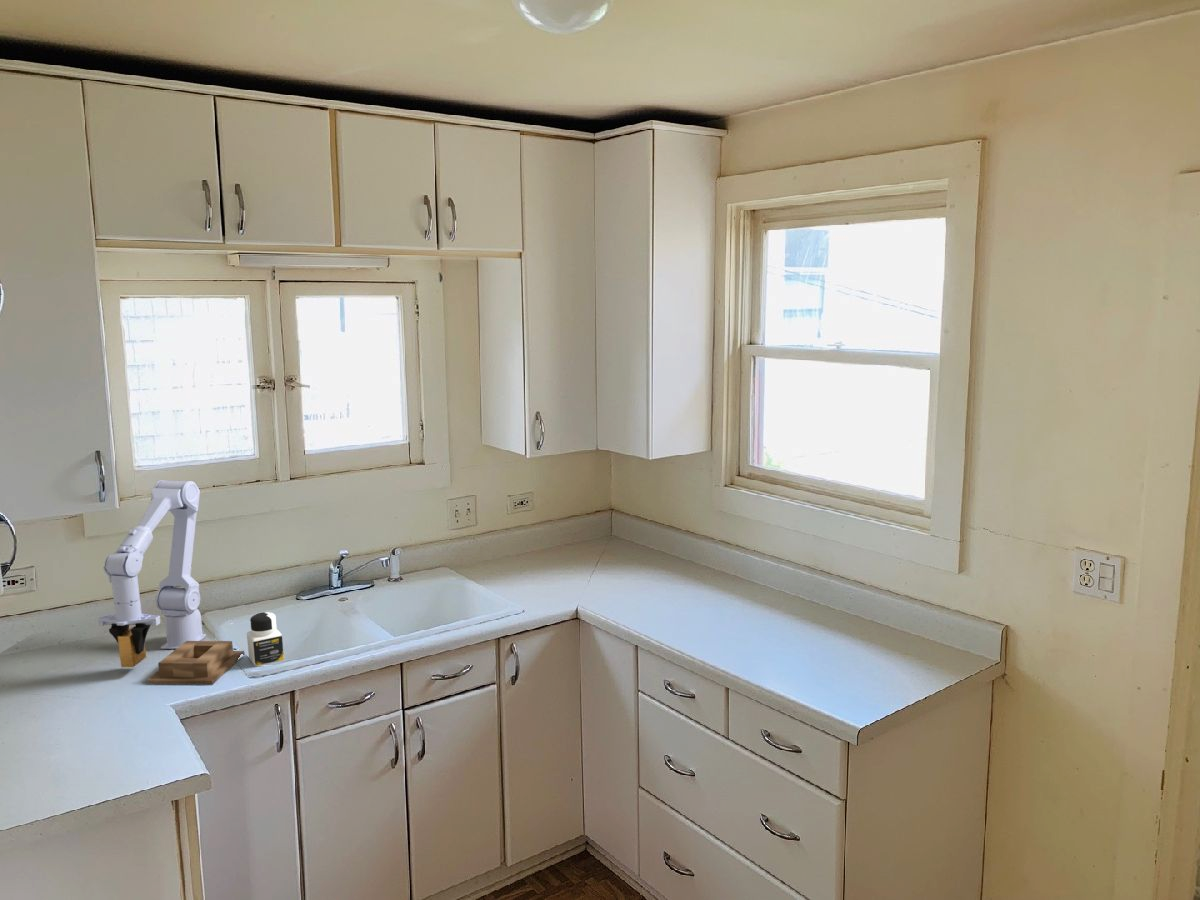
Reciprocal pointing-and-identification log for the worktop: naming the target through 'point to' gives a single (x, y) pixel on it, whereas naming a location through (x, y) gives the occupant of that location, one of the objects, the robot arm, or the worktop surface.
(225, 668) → the well board
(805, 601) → the worktop surface
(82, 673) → the worktop surface
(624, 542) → the worktop surface
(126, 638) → the wooden peg block
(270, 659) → the medicine bottle
